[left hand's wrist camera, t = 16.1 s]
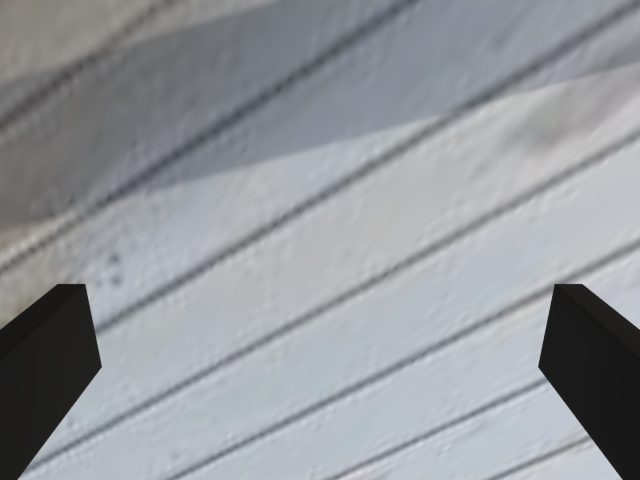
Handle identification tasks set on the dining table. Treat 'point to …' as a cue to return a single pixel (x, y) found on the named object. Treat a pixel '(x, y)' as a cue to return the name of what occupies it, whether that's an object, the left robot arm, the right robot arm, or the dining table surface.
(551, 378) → the left robot arm
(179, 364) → the dining table surface
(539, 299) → the dining table surface
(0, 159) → the dining table surface
